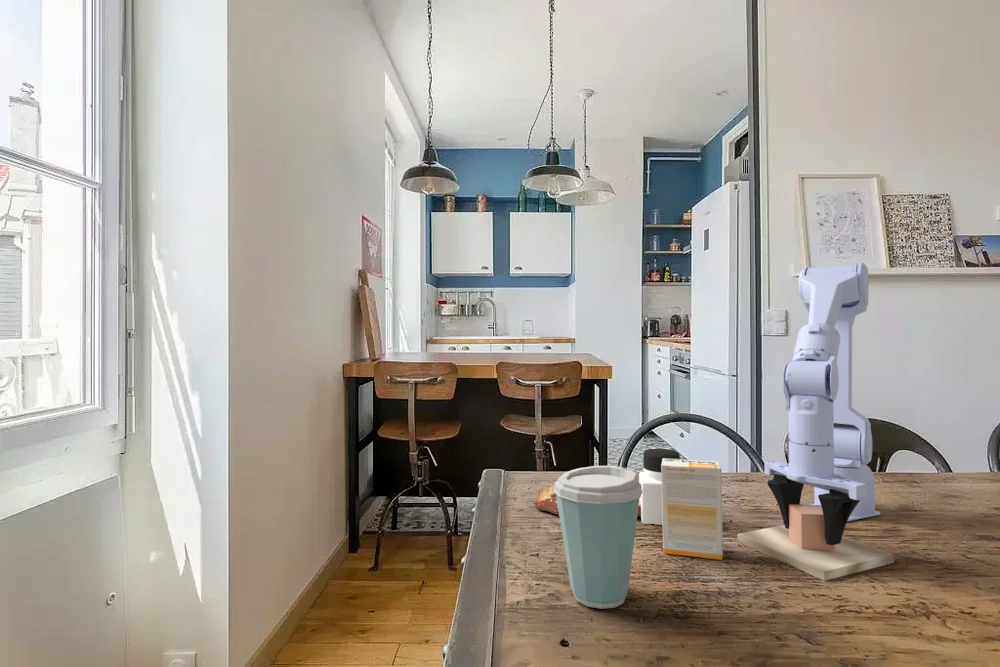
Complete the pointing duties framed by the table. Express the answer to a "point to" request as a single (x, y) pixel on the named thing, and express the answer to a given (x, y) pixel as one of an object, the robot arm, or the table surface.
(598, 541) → the disposable coffee cup
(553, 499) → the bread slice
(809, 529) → the salmon pink cube
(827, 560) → the post board
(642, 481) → the medicine bottle
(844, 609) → the table surface
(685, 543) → the supplement box
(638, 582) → the table surface
